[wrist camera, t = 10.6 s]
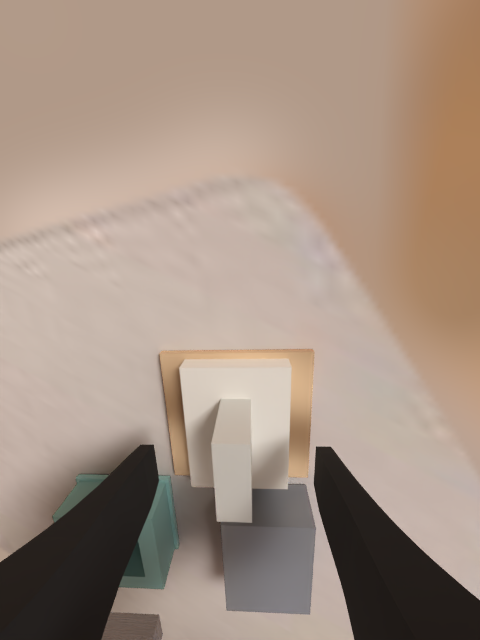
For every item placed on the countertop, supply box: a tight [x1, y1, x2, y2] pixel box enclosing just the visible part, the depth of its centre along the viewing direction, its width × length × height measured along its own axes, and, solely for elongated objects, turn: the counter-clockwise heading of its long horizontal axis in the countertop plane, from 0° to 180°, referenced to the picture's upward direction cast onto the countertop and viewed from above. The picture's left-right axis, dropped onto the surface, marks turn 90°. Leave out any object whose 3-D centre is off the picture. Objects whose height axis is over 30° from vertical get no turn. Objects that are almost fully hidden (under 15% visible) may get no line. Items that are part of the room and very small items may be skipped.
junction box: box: [220, 484, 316, 615], centre depth 15 cm, size 7×5×2 cm
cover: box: [179, 359, 292, 523], centre depth 12 cm, size 7×5×4 cm
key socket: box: [52, 474, 179, 589], centre depth 15 cm, size 6×6×2 cm
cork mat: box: [159, 349, 314, 478], centre depth 14 cm, size 8×8×1 cm
